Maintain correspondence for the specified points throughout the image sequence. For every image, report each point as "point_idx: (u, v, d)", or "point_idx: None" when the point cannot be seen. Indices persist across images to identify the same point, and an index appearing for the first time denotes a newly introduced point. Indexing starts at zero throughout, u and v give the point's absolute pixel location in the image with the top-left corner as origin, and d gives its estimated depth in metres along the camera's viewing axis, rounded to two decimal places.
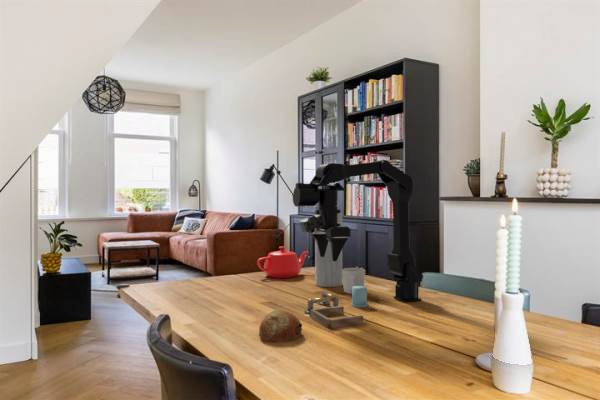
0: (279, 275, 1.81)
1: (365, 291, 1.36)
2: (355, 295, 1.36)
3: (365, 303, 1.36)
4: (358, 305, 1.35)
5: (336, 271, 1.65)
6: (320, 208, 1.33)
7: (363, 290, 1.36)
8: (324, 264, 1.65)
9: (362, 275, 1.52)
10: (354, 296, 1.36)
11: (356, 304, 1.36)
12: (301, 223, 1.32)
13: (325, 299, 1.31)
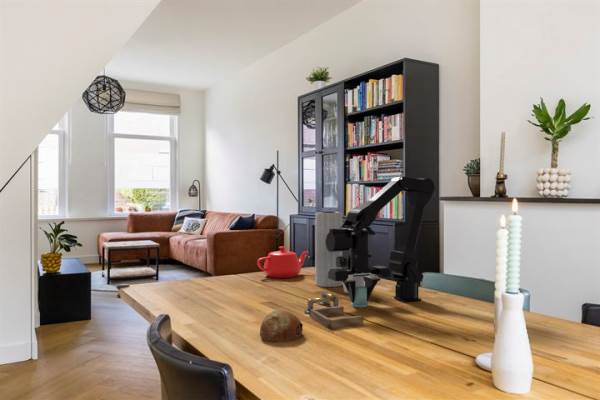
0: (279, 275, 1.81)
1: (365, 291, 1.36)
2: (355, 295, 1.36)
3: (365, 303, 1.36)
4: (358, 305, 1.35)
5: None
6: None
7: (363, 290, 1.36)
8: (324, 264, 1.65)
9: None
10: None
11: (356, 304, 1.36)
12: None
13: (325, 299, 1.31)
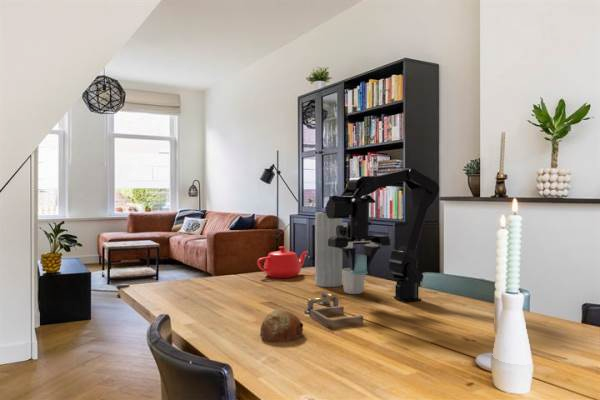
0: (279, 275, 1.81)
1: (365, 259, 1.36)
2: (355, 263, 1.36)
3: (365, 271, 1.36)
4: (358, 272, 1.35)
5: (336, 271, 1.65)
6: None
7: (363, 257, 1.36)
8: (324, 264, 1.65)
9: (362, 275, 1.52)
10: None
11: (356, 271, 1.36)
12: None
13: (325, 299, 1.31)
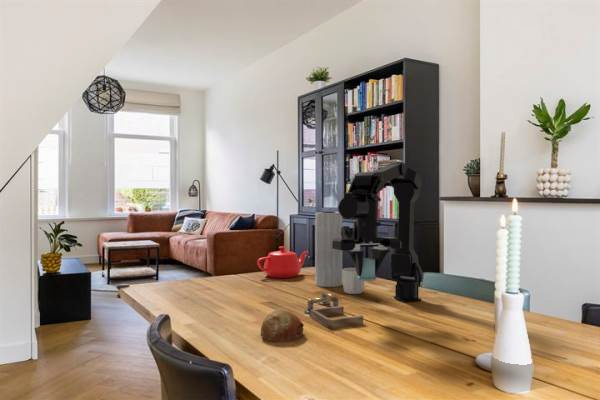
0: (279, 275, 1.81)
1: (373, 263, 1.23)
2: (362, 267, 1.23)
3: (373, 276, 1.23)
4: (366, 278, 1.22)
5: (336, 271, 1.65)
6: None
7: (371, 262, 1.23)
8: (324, 264, 1.65)
9: None
10: None
11: (363, 277, 1.22)
12: None
13: (325, 299, 1.31)
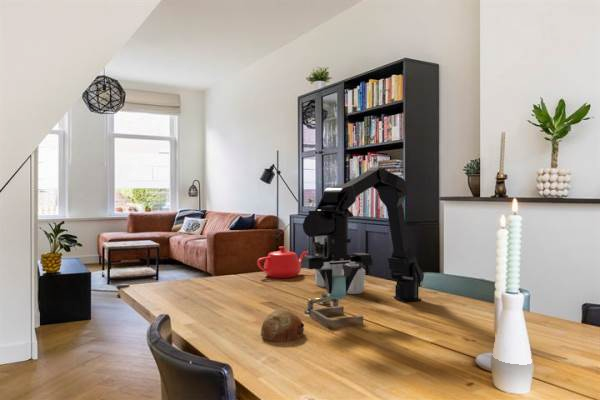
0: (279, 275, 1.81)
1: (344, 280, 1.20)
2: (332, 285, 1.20)
3: (344, 294, 1.20)
4: (336, 296, 1.19)
5: (336, 271, 1.65)
6: None
7: (341, 279, 1.20)
8: None
9: (362, 275, 1.52)
10: None
11: (333, 295, 1.20)
12: None
13: (325, 299, 1.31)
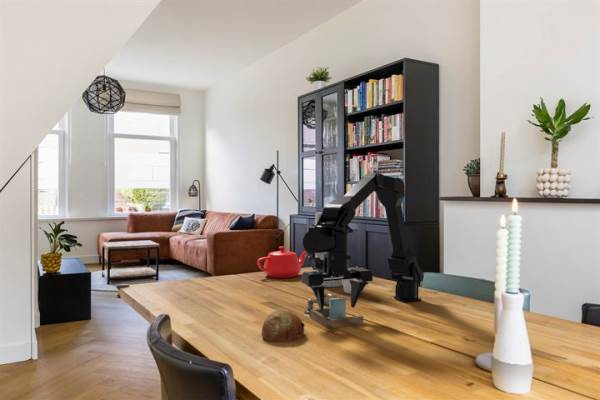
0: (279, 275, 1.81)
1: (343, 304, 1.20)
2: (332, 309, 1.20)
3: None
4: None
5: None
6: None
7: (341, 303, 1.20)
8: None
9: None
10: (331, 310, 1.20)
11: None
12: None
13: (325, 299, 1.31)
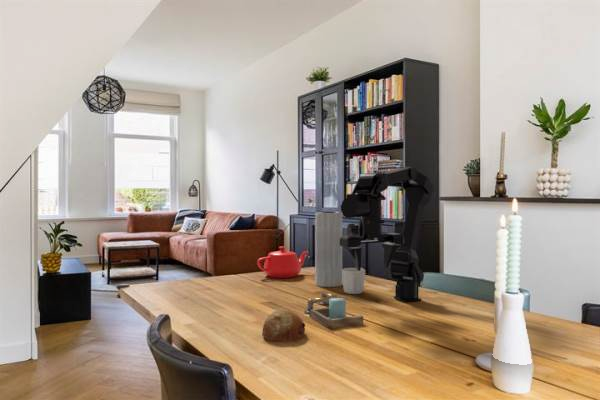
0: (279, 275, 1.81)
1: (343, 304, 1.20)
2: (332, 309, 1.20)
3: None
4: None
5: (336, 271, 1.65)
6: None
7: (341, 303, 1.20)
8: (324, 264, 1.65)
9: (362, 275, 1.52)
10: (331, 310, 1.20)
11: None
12: None
13: (325, 299, 1.31)
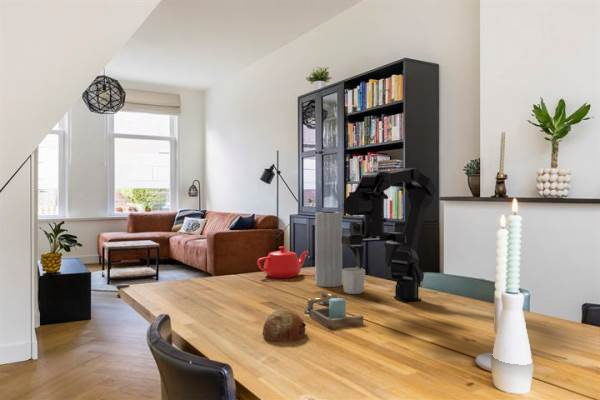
0: (279, 275, 1.81)
1: (343, 304, 1.20)
2: (332, 309, 1.20)
3: None
4: None
5: (336, 271, 1.65)
6: None
7: (341, 303, 1.20)
8: (324, 264, 1.65)
9: (362, 275, 1.52)
10: (331, 310, 1.20)
11: None
12: None
13: (325, 299, 1.31)
